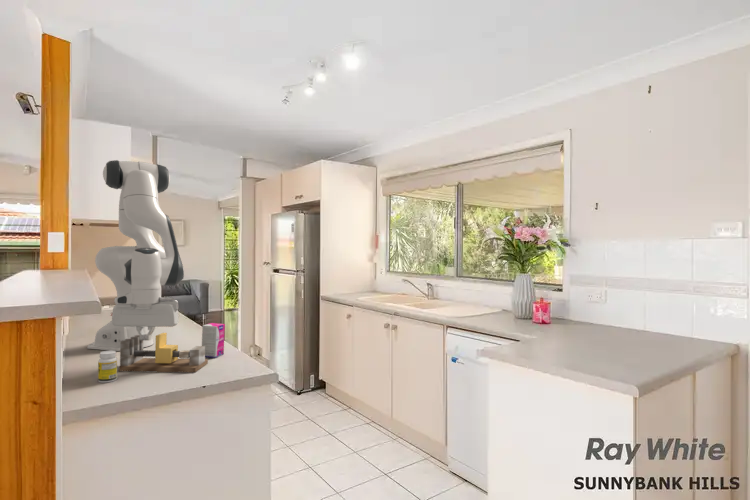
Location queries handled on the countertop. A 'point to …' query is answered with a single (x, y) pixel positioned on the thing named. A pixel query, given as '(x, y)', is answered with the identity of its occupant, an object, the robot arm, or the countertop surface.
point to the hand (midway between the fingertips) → (145, 340)
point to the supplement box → (213, 339)
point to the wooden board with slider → (135, 362)
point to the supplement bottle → (107, 367)
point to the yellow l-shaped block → (164, 350)
